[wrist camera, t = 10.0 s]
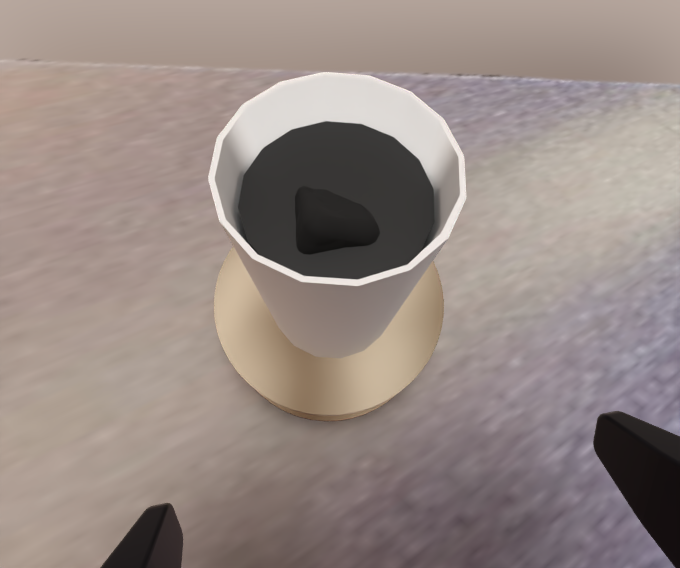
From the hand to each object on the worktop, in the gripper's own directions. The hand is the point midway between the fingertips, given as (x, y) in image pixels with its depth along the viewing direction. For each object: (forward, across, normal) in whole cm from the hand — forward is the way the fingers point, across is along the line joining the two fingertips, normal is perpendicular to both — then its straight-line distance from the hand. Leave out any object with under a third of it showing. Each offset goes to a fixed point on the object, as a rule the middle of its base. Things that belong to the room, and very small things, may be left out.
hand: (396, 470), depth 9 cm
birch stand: (+15, 0, +4) cm, 15 cm away
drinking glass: (+12, 0, +2) cm, 12 cm away
